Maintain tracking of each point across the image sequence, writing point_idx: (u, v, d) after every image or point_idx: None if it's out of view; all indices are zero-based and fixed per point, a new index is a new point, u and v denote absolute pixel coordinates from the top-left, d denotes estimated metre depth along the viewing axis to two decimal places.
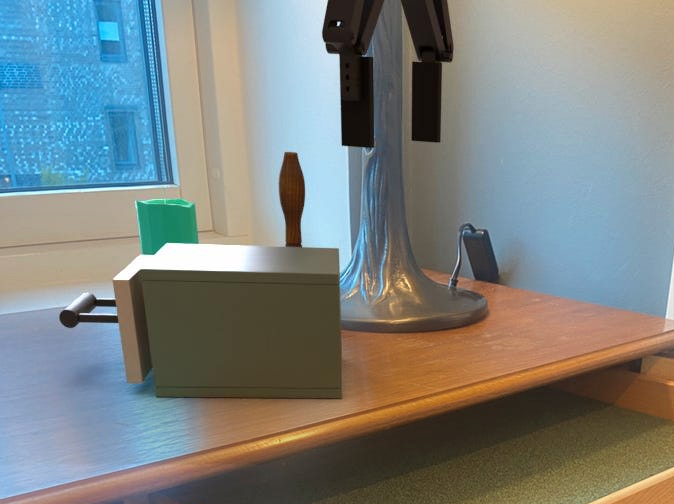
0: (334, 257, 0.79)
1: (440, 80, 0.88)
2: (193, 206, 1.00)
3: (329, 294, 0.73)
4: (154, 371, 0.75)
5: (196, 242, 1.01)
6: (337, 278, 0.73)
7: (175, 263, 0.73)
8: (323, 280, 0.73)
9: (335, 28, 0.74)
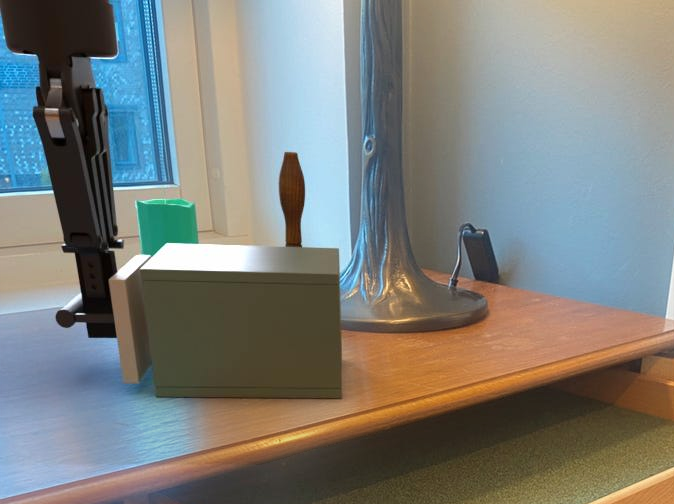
0: (334, 257, 0.79)
1: (116, 269, 0.77)
2: (193, 206, 1.00)
3: (329, 294, 0.73)
4: (154, 371, 0.75)
5: (196, 242, 1.01)
6: (337, 278, 0.73)
7: (175, 263, 0.73)
8: (323, 280, 0.73)
9: (79, 240, 0.72)
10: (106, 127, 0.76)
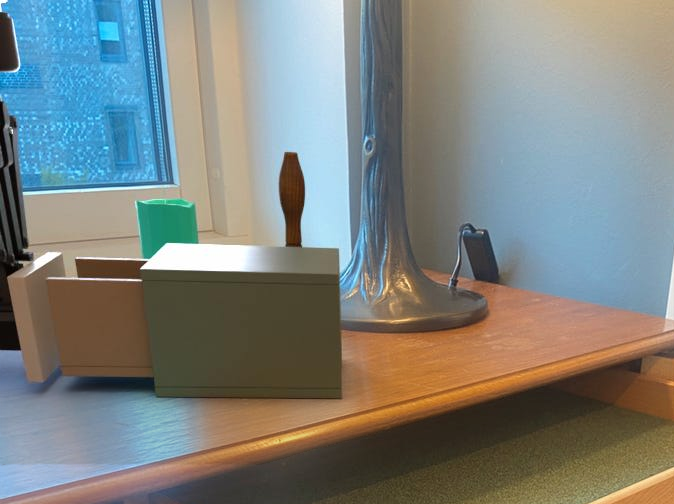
0: (334, 257, 0.79)
1: None
2: (193, 206, 1.00)
3: (329, 294, 0.73)
4: (154, 371, 0.75)
5: (196, 242, 1.01)
6: (337, 278, 0.73)
7: (175, 263, 0.73)
8: (323, 280, 0.73)
9: None
10: (15, 139, 0.75)
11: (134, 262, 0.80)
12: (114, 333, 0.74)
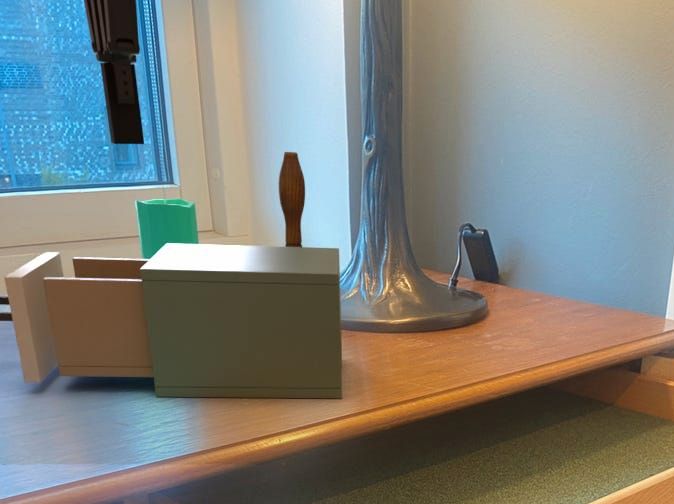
0: (334, 257, 0.79)
1: (105, 80, 0.87)
2: (193, 206, 1.00)
3: (329, 294, 0.73)
4: (154, 371, 0.75)
5: (196, 242, 1.01)
6: (337, 278, 0.73)
7: (175, 263, 0.73)
8: (323, 280, 0.73)
9: None
10: None
11: (132, 262, 0.80)
12: (111, 333, 0.74)
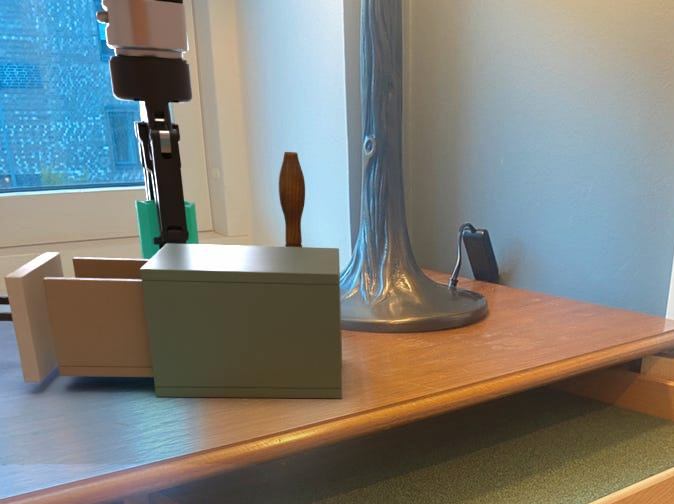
0: (334, 257, 0.79)
1: None
2: (193, 206, 1.00)
3: (329, 294, 0.73)
4: (154, 371, 0.75)
5: (196, 242, 1.01)
6: (337, 278, 0.73)
7: (175, 263, 0.73)
8: (323, 280, 0.73)
9: None
10: (152, 150, 0.92)
11: (132, 262, 0.80)
12: (111, 333, 0.74)
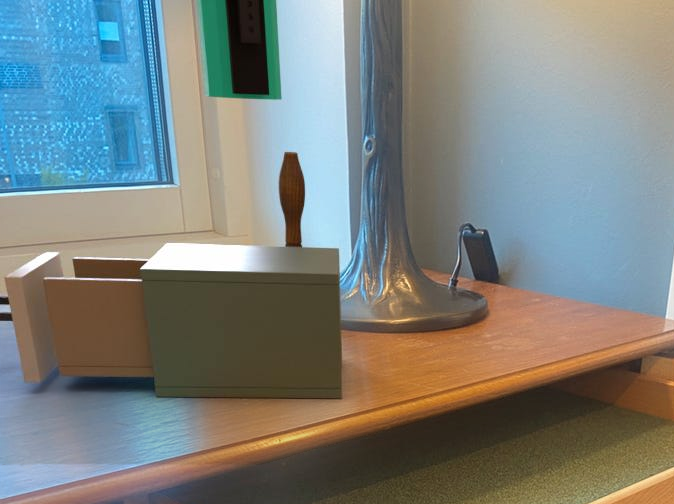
0: (334, 257, 0.79)
1: (227, 14, 0.71)
2: None
3: (329, 294, 0.73)
4: (154, 371, 0.75)
5: (274, 1, 0.74)
6: (337, 278, 0.73)
7: (175, 263, 0.73)
8: (323, 280, 0.73)
9: None
10: None
11: (132, 262, 0.80)
12: (111, 333, 0.74)
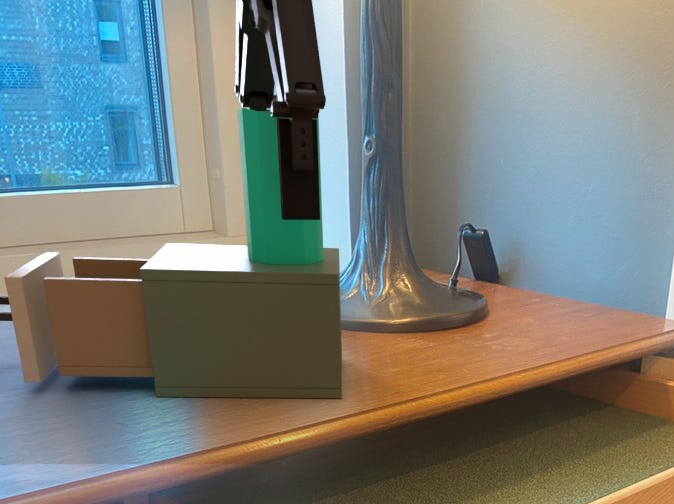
0: (334, 257, 0.79)
1: (278, 140, 0.67)
2: (317, 118, 0.72)
3: (329, 294, 0.73)
4: (154, 371, 0.75)
5: None
6: (337, 278, 0.73)
7: (175, 263, 0.73)
8: (323, 280, 0.73)
9: None
10: None
11: (132, 262, 0.80)
12: (111, 333, 0.74)
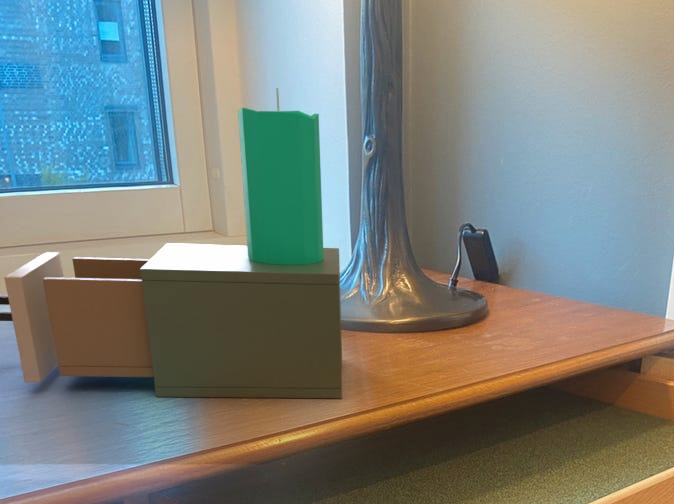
0: (334, 257, 0.79)
1: None
2: (317, 118, 0.72)
3: (329, 294, 0.73)
4: (154, 371, 0.75)
5: (318, 169, 0.74)
6: (337, 278, 0.73)
7: (175, 263, 0.73)
8: (323, 280, 0.73)
9: None
10: None
11: (132, 262, 0.80)
12: (111, 333, 0.74)
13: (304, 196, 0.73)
